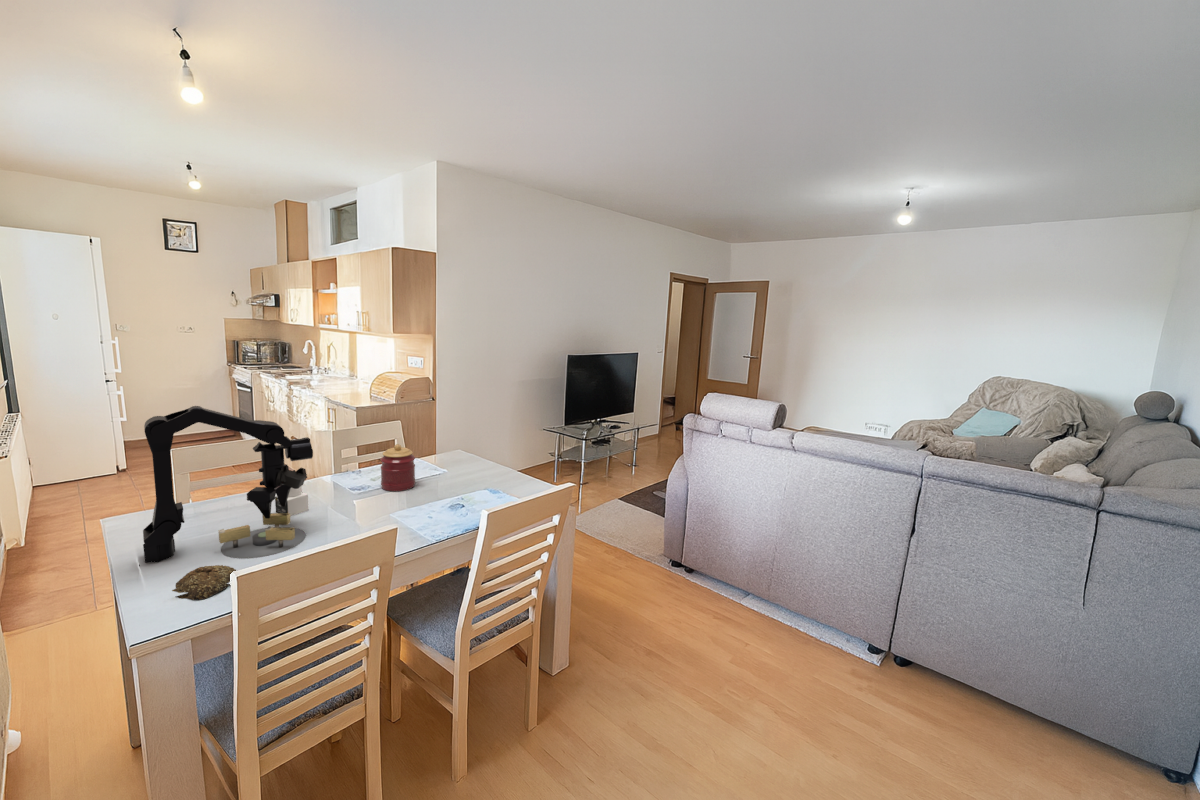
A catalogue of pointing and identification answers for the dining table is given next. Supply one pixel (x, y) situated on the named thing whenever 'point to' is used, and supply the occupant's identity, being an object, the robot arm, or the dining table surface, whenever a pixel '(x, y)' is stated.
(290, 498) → the medicine bottle
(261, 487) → the robot arm
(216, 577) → the brown speckled lumpy part
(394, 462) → the canister
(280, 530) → the knob near
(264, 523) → the wooden plank block
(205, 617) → the dining table surface
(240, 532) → the knob left
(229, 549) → the levelling base
